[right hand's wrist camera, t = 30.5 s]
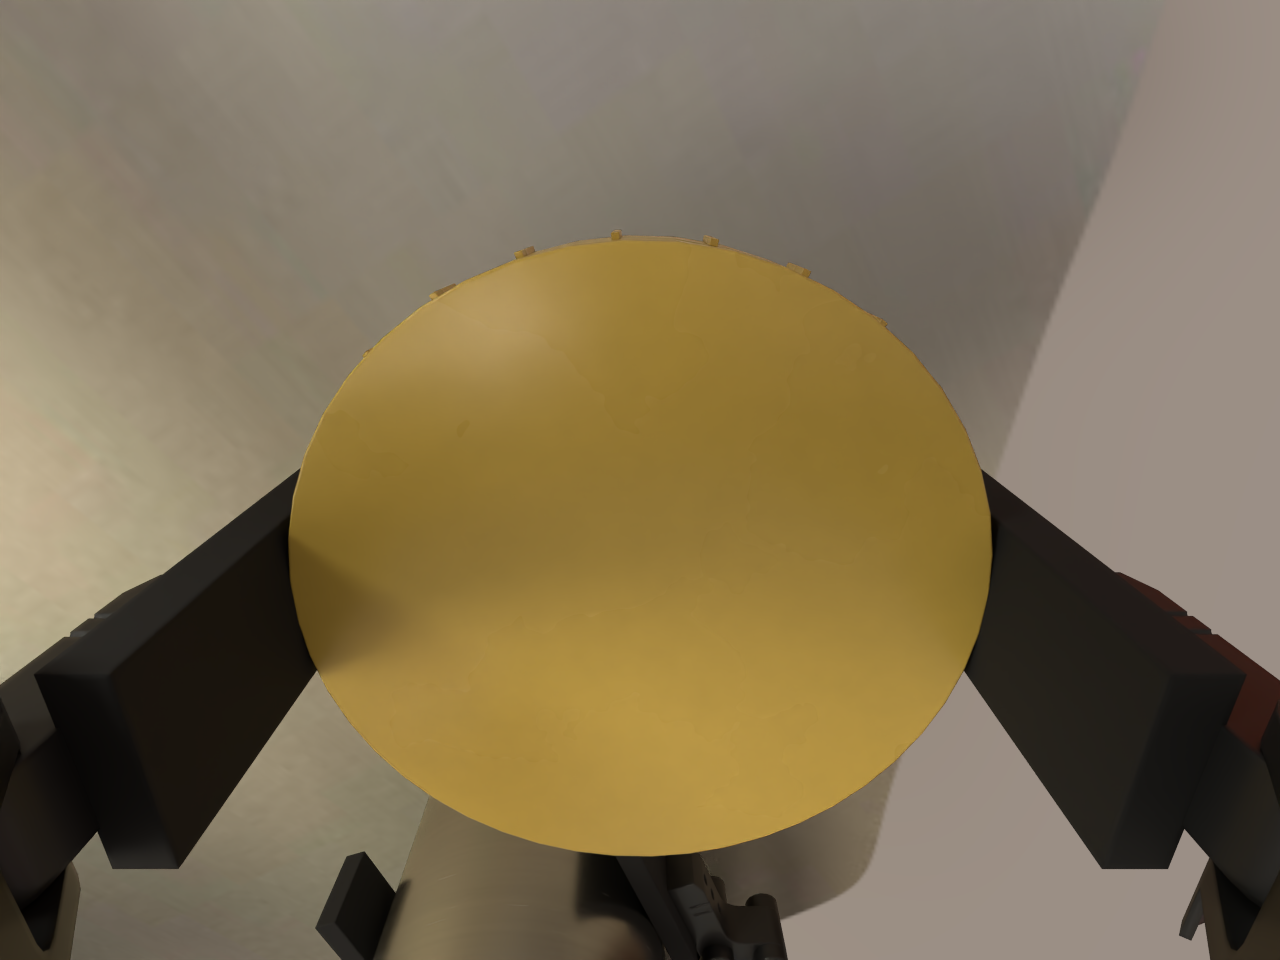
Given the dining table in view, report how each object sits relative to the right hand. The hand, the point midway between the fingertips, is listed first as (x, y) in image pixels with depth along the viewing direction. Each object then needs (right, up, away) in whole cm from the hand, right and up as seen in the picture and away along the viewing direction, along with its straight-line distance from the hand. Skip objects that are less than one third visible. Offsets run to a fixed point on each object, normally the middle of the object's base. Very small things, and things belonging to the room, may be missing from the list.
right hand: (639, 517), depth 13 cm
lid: (0, -1, -3) cm, 3 cm away
